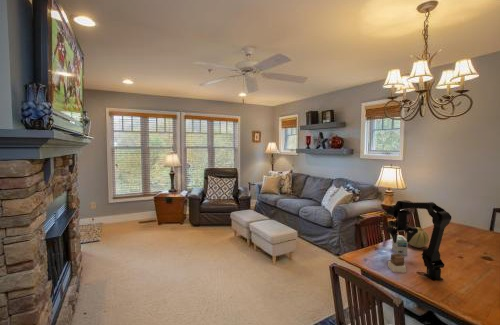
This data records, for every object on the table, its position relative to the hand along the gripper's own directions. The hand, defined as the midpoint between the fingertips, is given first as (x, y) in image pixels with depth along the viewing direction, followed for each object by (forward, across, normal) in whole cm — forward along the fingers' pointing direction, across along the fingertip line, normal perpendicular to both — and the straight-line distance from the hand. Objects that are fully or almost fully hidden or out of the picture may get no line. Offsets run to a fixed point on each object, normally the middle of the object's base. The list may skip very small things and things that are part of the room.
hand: (401, 242), depth 166 cm
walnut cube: (+8, +11, +11) cm, 18 cm away
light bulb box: (+12, -8, -12) cm, 19 cm away
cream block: (+12, +11, +11) cm, 20 cm away
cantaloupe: (+12, -27, -19) cm, 35 cm away
